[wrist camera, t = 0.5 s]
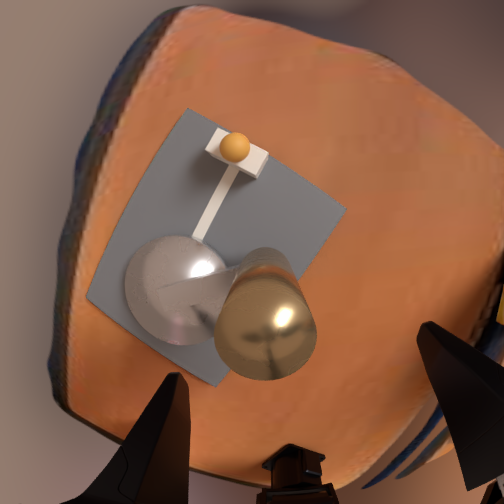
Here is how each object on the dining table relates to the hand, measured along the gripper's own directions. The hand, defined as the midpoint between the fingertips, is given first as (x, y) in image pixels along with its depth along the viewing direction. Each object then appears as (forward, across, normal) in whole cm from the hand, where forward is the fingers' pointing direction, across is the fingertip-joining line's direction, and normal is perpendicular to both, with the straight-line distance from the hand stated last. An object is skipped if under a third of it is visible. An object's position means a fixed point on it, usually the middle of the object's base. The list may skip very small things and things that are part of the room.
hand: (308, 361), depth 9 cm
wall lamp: (+14, +6, +6) cm, 17 cm away
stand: (+16, +6, +4) cm, 18 cm away
